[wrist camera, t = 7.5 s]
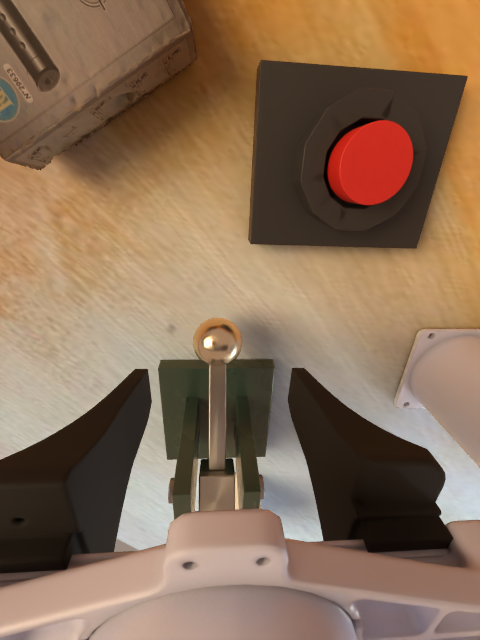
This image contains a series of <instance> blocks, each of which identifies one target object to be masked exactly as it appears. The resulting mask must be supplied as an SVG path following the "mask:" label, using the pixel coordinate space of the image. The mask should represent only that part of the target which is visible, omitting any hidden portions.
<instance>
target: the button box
mask: <svg viewBox="0 0 480 640" xmlns="http://www.w3.org/2000/svg"><path fill="white" fill-rule="evenodd" d="M467 77H468V76H462V75H449V74H436V73H423V72H410V71H397V70H384V69H371V68H358V67H345V66H332V65H319V64H306V63H293V62H280V61H268V60H261V61H260V63H259V66H258V69H257V81H256V100H255V120H254V140H253V159H252V179H251V198H250V218H249V238H248V240H249V242H250V244H269V245H306V246H344V247H381V248H417V244H418V241H419V238H420V234H421V231H422V228H423V224H424V221H425V218H426V214H427V211H428V208H429V204H430V201H431V198H432V194H433V191H434V188H435V184H436V181H437V178H438V174H439V171H440V168H441V164H442V161H443V158H444V154H445V151H446V148H447V144H448V141H449V137H450V134H451V131H452V127H453V124H454V121H455V117H456V114H457V111H458V107H459V104H460V101H461V97H462V94H463V91H464V87H465V84H466V81H467ZM379 120H387V121H392V122H395V123H397V124H399V125H400V126H401V127H403V128H404V129H405V131H406V132H407V133H408V135H409V137H410V139H411V142H412V146H413V163H412V167H411V170H410V173H409V176H408V178H407V180H406V181H405V183H404V184H403V186H402V187H401V188H400V190H399V191H398V192H397V193H396V194H395V195H393V196H392V197H391V198H389V199H388V200H386V201H384V202H382V203H379V204H375V205H361V204H356V203H350V202H346V201H344V200H342V199H340V198H339V197H338V196H337V195H336V194H335V193H334V192H333V190H332V189H331V186H330V184H329V181H328V173H327V169H328V162H329V158H330V155H331V153H332V150H333V149H334V147H335V145H336V144H337V142H338V141H339V140H340V139H341V138H342V137H343V136H344V135H345V134H346V133H348V132H349V131H351V130H353V129H355V128H358V127H361V126H363V125H366V124H369V123H371V122H374V121H379Z"/></svg>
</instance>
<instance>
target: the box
mask: <svg viewBox="0 0 480 640" xmlns="http://www.w3.org/2000/svg"><path fill="white" fill-rule="evenodd" d="M196 59H197V55H196V48H195V41H194V32H193V29H192V22H191V18H190V17H189V15H188V13H187V11H186V8H185V5H184V3H183V1H182V0H0V156H1V158H3V159H4V160H5V161H8V162H11V163H16V164H20V165H23V166H25V167H26V166H29V167H30V168H32V169H33V168H35V169H37V170H38V169H40V170H41V168H44V167H45V165H46V164H48V163H51V160H52V159H53V157H54V156H56V155H59V154H60V153H61V152H64V151H66V150H67V149H68V148H69V147H72V146H74V145H76V146H77V144H78V143H80V142H82V139H84V138H88V137H89V136H90V135H91V133H93V132H96V130H97V129H100V128H102V126H105V125H106V124H107V122H110V121H111V120H112V119H113V118H115V117H117V115H120V113H122V112H124V111H125V109H127V108H129V107H130V106H133V104H134V103H136V102H138V101H139V100H140V99H141V97H144V96H147V95H149V94H150V93H152V92H153V90H154V89H156V88H158V86H160V84H162V83H163V82H167V81H168V80H170V79H171V77H173V76H174V75H176V74H178V73H179V72H180V71H181V70H183V69H185V67H187V66H188V65H189V66H190V64H191V63H192V62H193V61H194V60H196Z"/></svg>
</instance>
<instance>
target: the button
mask: <svg viewBox="0 0 480 640" xmlns="http://www.w3.org/2000/svg"><path fill="white" fill-rule="evenodd" d="M412 163H413V146H412V142H411V139H410V137H409V135H408V133H407V132H406V131H405V129H404V128H403V127H401V126H400V125H399V124H397V123H395V122H392V121H387V120H379V121H374V122H371V123H369V124H366V125H363V126H361V127H358V128H355V129H353V130H351V131H349V132H348V133H346V134H345V135H344V136H343V137H342V138H341V139H340V140H339V141H338V142H337V144H336V145H335V147H334V149H333V150H332V153H331V155H330V158H329V162H328V169H327V173H328V181H329V184H330V186H331V189H332V190H333V192H334V193H335V194H336V195H337V196H338V197H339V198H340V199H342V200H344V201H346V202H350V203H356V204H361V205H375V204H379V203H382V202H384V201H386V200H388V199H389V198H391V197H392V196H393V195H395V194H396V193H397V192H398V191H399V190H400V188H401V187H402V186H403V184H404V183H405V181H406V180H407V178H408V176H409V173H410V170H411V167H412Z"/></svg>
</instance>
